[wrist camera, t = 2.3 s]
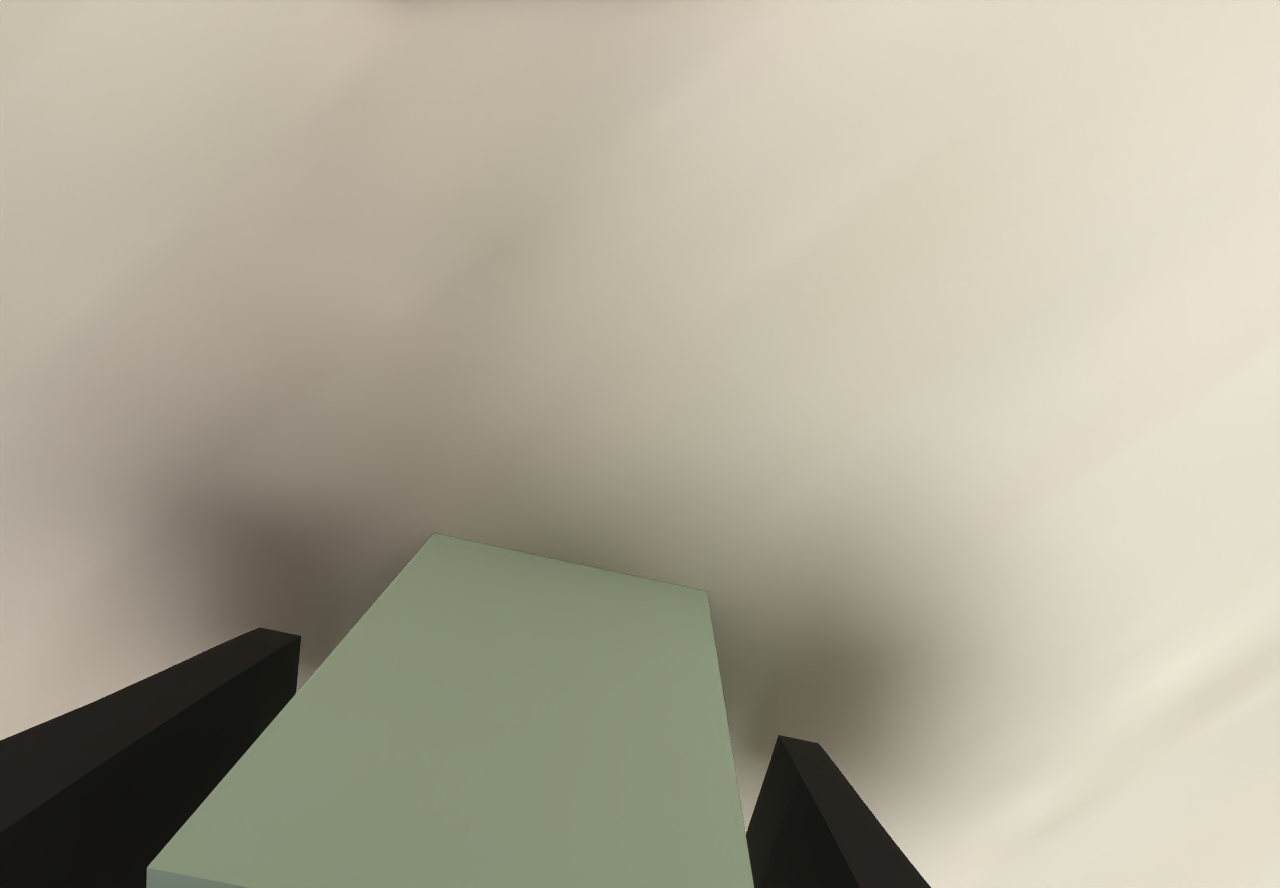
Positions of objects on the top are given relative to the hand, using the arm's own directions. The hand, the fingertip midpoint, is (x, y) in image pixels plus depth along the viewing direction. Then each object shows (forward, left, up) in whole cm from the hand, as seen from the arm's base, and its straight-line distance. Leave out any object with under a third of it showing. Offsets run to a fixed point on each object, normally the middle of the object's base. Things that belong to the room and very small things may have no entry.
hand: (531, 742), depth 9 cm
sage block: (0, 0, -2) cm, 2 cm away
